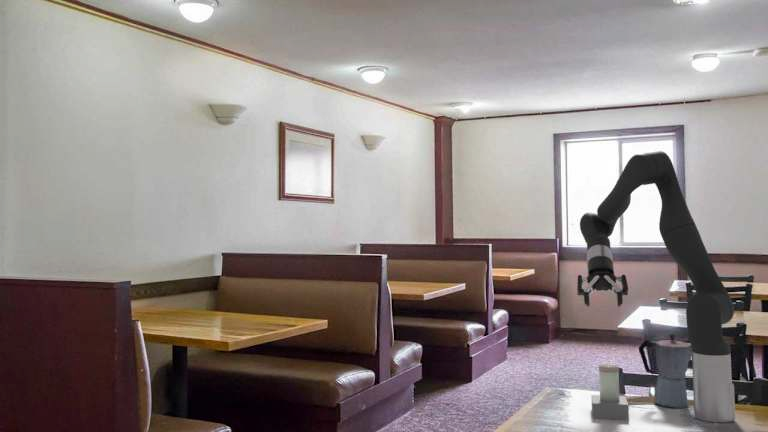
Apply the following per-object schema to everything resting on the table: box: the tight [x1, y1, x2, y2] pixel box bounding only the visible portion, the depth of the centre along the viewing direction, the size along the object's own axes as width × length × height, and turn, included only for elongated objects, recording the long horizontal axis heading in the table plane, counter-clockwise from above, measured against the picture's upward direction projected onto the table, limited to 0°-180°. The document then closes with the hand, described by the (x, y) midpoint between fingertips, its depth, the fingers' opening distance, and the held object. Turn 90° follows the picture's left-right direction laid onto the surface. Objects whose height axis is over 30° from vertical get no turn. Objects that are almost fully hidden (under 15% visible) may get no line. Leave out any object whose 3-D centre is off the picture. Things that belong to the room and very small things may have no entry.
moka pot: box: [638, 333, 692, 409], centre depth 189 cm, size 10×15×20 cm, turn 78°
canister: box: [598, 364, 620, 402], centre depth 181 cm, size 5×5×9 cm
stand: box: [590, 394, 630, 421], centre depth 180 cm, size 9×9×4 cm
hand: (603, 304), depth 192 cm, fingers open, 8 cm apart
